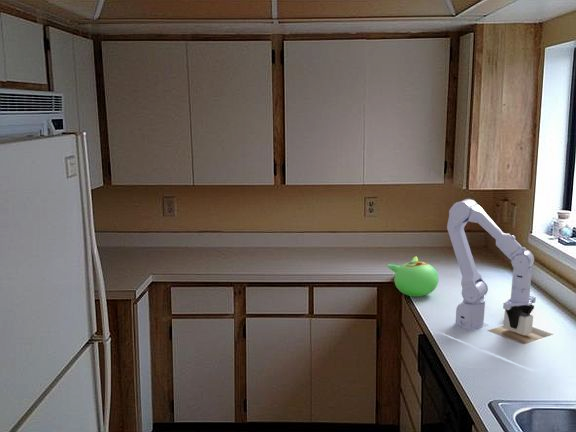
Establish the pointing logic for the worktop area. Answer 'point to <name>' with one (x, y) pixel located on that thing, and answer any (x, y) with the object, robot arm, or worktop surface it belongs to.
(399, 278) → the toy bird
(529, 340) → the board
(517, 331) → the block
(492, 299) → the worktop surface
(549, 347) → the worktop surface
